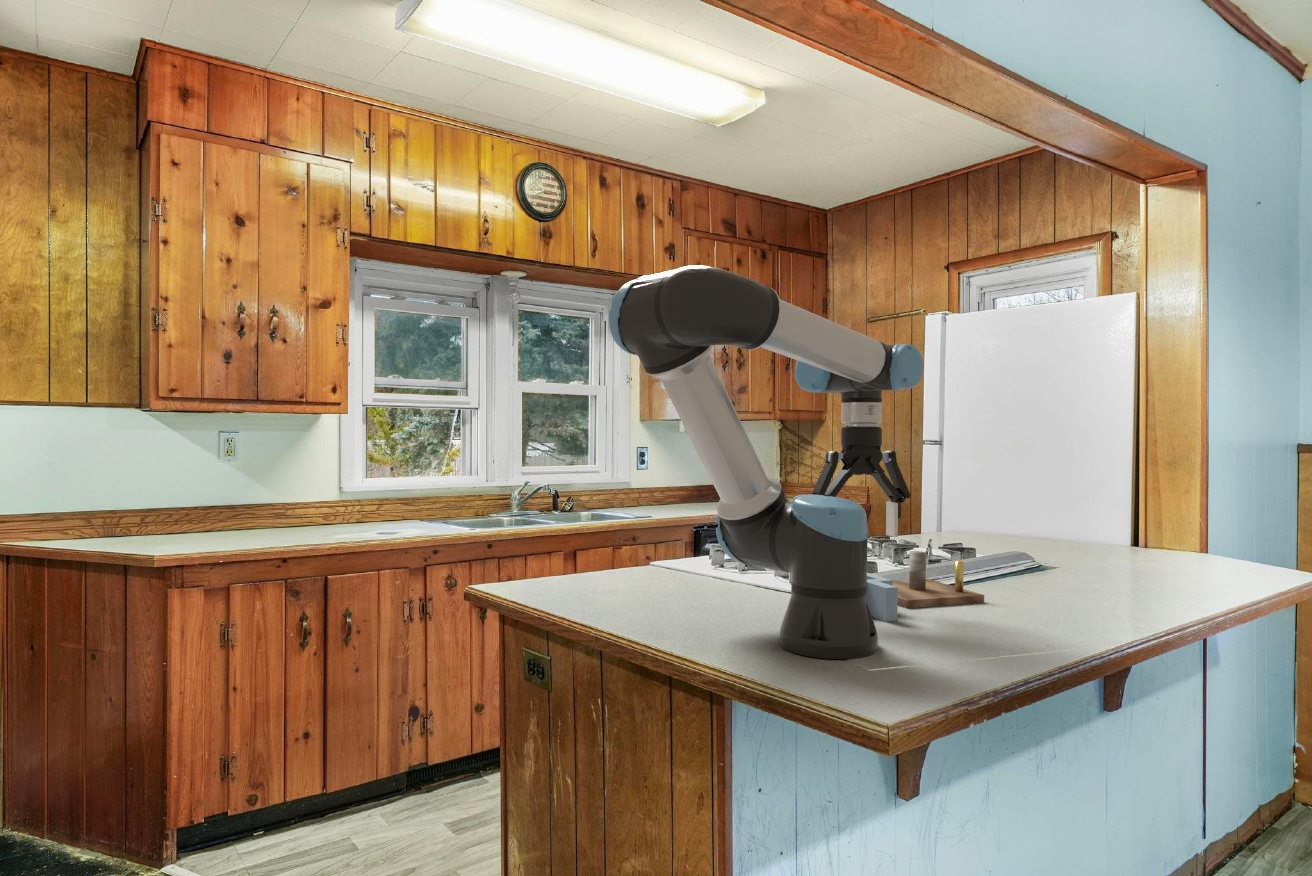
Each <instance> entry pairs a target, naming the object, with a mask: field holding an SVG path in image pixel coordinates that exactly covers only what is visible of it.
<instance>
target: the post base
mask: <svg viewBox="0 0 1312 876" xmlns="http://www.w3.org/2000/svg"><path fill="white" fill-rule="evenodd" d="M908 563H909V564H908V565H909V567H908V569H909V570H908V571H909V572H908V573H909V574H908V575H909V577H908V578H909V579H901V580H892V586H895V587H898V599H897V606H900V607H902V608H905V609H914V608H927V607H928V608H929V607H940V606H941V607H942V606H955V605H968V604H982V603H985V594H982V593H978V592H975V591H973V590H972V591H971V590H968V589H965V588H963V592H955V585H954V586H953V585H951V584H948V583H943V582H940V581H936V580H933V579H929V578H927V577H926V575H927V552H926V551H922V550H911V551H909V562H908Z"/></svg>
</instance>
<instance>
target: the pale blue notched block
mask: <svg viewBox="0 0 1312 876" xmlns="http://www.w3.org/2000/svg"><path fill="white" fill-rule="evenodd" d="M892 581H893V580H892V579H889V578H885V577H883V576H880V575H876V574H873V573H869V572H867V603H868V606H869V609H870V612H871V615H872V618H874V619H877V620H880V621H883V622H886V623H889V622H891V623H892V622H897V621H898V605H897V599H898V587H895V586H892Z"/></svg>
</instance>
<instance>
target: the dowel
mask: <svg viewBox="0 0 1312 876" xmlns="http://www.w3.org/2000/svg"><path fill="white" fill-rule="evenodd" d="M964 565H965V563H964V561H960V560H956V561H955V562H954V587H955V592H963V589H964Z"/></svg>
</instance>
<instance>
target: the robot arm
mask: <svg viewBox="0 0 1312 876" xmlns="http://www.w3.org/2000/svg"><path fill="white" fill-rule="evenodd" d="M608 326H609V331H610V333H611V336H612V339H613V340H614V342H615V343H616V346H618V347H619V348H620V349H621V350H622V351H624V352H626V353H628V354H631V355H635V356H637V357H638V360H639V361H640V363H641V364H642V367H643V369H644V371H645V373H646V375H648V376H649V377H650V376H651V377H653V378H657V379H660V381H661V383H662V385H663V387H664V389H665V391H666V393H667V395H668V397H669V399H670V401H671V402H672V406H673V407H674V409H675V412H676V413H677V415H678V417H679V419H680V421H681V423H682V425H683V426H684V430H685V431H686V433H687V435H688V437H689V438H690V440H691V443H692V445H693V447H694V449H695V450H696V453H697V455H698V457H699V459H700V461H701V463H702V465H703V467H704V469H705V470H706V473H707V474H708V477H709V479H710V481H711V482H712V485H713V486H714V489H715V491H716V492H717V495H718V497H719V500H718V503H717V506H716V511H717V515H716V520H715V522H716V524H717V527H716V528H715V534H716V539H717V542H718V544H719V546H720V548H721V549H722V550H723V552H724V553H725V555H727V556H728V557H729V558H730V559H731V560H733V561H735V562H738V563H740V564H742V565H745V566H748V567H752V568H754V567H755V568H762V569H767V570H774V571H778V572H785V573H789V574H791V575H790V576H791V578H790V580H791V583H790V585H791V587H790V588H791V589H790V590H791V591H790V599H789V601H788V603H787V607H786V610H785V613H784V616H783V618H782V619H783V620H782V623H781V625H780V629H779V645H780V646H781V647H782V649H784V650H786V651H788V652H791V653H793V654H796V655H801V656H806V657H811V658H819V659H831V660H845V659H846V660H848V659H849V660H851V659H860V658H864V657H865V658H866V657H869V656H872V655H875V654H876V653H877V652H878V651H879V650H878V649H879V636H878V635H879V634H878V632H877V629H876V625H875V622H874V619H873V617H872V615H871V612H870V609H869V606H868V603H867V573H868V539H869V538H868V537H869V528H868V519H867V518H868V517H867V515H868V514H867V512H866V509H864V507H863V506H862V505H861V504H859V503H857V502H856V501H853V500H850V499H847V498H842V497H837V496H838V494H839V492H841V490H842V488H844V486H845V485H846V483H847V482H848V481H849V479H850V478H852V477H853V476H861V475H866V476H871V477H873V479H874V480H875V481H876V483H877V484H878V485H879V487H880V488H881V489H882V490H883V492H884V493H885V495H886V497H888V499H889V500H890V501H885V507H886V508H885V513H886V514H885V535H886V536H888V537H894V538H898V537H899V536H898V535H899V532H898V531H899V526H898V525H899V522H898V521H899V519H901V517H902V513H901V512H902V503H904V502H905V500H907V499H911V492H910V490H909V488H908V485H907V483H906V481H905V480H906V479H904V476H903V474H902V472H901V469H900V466H899V464H898V462H897V461H898V459H897V453H896V451H895V450H884V451H882V449H881V448H882V445H883V428H882V427H881V426H879V424H882V423H883V397H882V396H883V395H882V394H883V391H894V392H899V391H900V390H901V391H902V390H910V389H914V388H915V387H916V386H918V384H919V383H920V382H921V380H922V378H923V376H924V375H923V374H924V359H923V355H922V352H920V350H919V349H918V347H916V346H915V345H913V344H910V343H909V344H907V343H906V344H903V343H902V344H901V343H896V344H887V343H884V342H883V341H880V340H878V339H875V338H872V337H870V336H868V335H866V334H862V333H860V332H858V331H856V330H853V329H851V328H850V327H849V328H848V327H847V326H844V325H842V324H839V323H837V322H834V321H833V320H830V319H828V318H825V317H824V316H821V315H818V314H816V313H813V312H811V311H809V310H806V309H804V308H801V307H799V306H797V305H796V304H795V305H794V304H793V303H790V302H787V301H786V300H782V299H780V296H779V294H778V292H776V290H775V289H774V288H772V287H770V286H768V285H765V284H764V283H761V282H759V281H757V280H754V279H751V278H749V277H746V276H744V275H741V274H738V273H735V272H733V271H729V270H726V269H721V268H719V267H713V266H709V265H703V264H702V265H699V264H698V265H695V264H693V265H686V266H681V267H679V268H676V269H670V270H667V271H666V270H665V271H663V272H660V273H653V274H643V275H642V276H640V277H638V278H636V279H632V280H630V281H628V282H626V283H625V284H623V285H622V286H621V287H620V288H619V289H618V291H617V292H616V293H615V295H614V296H613V298H612V300H611V305H610V309H609V313H608ZM713 346H731V347H732V346H733V347H738V348H740V349H743V350H746V351H753V350H757V349H759V348H761V349H764V350H767V351H769V352H773V353H775V354H778V355H781V356H785V357H786V358H790V359H793V360H795V361H796V362H795V366H794V379H795V381H796V383H797V385H798V386H799V388H800V389H802V390H804V391H805V392H809V393H814V394H821V393H823V394H840V395H841V397H840V398H841V406H840V407H841V409H840V410H841V412H840V413H841V414H840V418H841V419H840V423H841V424H844V425H843V426H841V427H842V428H840V443H841V444H840V445H841V448H842V449H841V452H838V451H835V450H829V451H826V455H825V464H824V465H823V467H822V470H821V472H820V475H819V476H818V479H817V481H816V483H815V485H814V488H813V490H812V492H811V494H798V495H796V496H794V497H793V498H792V500H791V501H790V500H789V499H788V497H787V495H786V493H785V490H784V488H783V486H782V484H781V482H780V480H778V479H777V478H775V477H771V476H767V474H766V472H765V470H764V467H763V466H762V464H761V461H760V458H759V457H758V455H757V452H756V450H755V449H754V446H753V444H752V442H751V440H750V438H749V436H748V433H747V432H746V429H745V427H744V425H743V422H742V421H741V418H740V417H739V414H738V413H737V410H736V408H735V406H734V404H733V402H732V399H731V398H730V395H729V394H728V391H727V389H726V386H725V385H724V383H723V381H722V378H721V377H720V374H719V371H718V370H717V367H716V366H715V364H714V362H713V359H712V358H711V351H712V348H713ZM840 462H841V463H842V466H841V467H840V468H839V469H838V470H837V467H838V464H839V463H840ZM881 462H883V464H884V466H885V469H886V471H887V474H888V475H886V473H885V470H884V468H883V467H882V466H881V464H880V463H881ZM836 470H837V471H838V472H837V474H836V475H835V477H834V478H833V476H834V474H835V471H836ZM888 476H889V477H888ZM889 478H890V479H889Z"/></svg>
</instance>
